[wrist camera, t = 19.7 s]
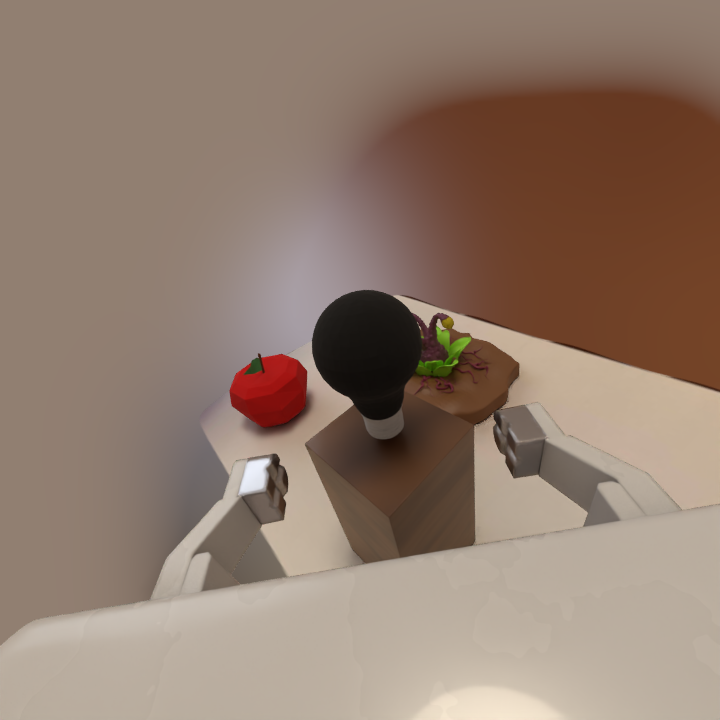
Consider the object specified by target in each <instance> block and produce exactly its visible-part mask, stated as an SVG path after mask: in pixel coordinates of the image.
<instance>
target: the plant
mask: <svg viewBox="0 0 720 720" xmlns="http://www.w3.org/2000/svg"><path fill="white" fill-rule="evenodd" d="M412 314H413V313H412ZM413 316H414V317H415V319H416V321H417V322H418V323H419V324H418V325H419V326H420V327H421V330H420V333H421V338H422V352H421V358H420V361H419V364H418V367H417V369H416V371H415V373H414V375H413V376H412V377H411V379H410V380H409V381H408V382H407V384H406V385H405V389H404V391H406V392H408V393H410V394H412V395H414V396H416V397H418V398H420V399H422V400H424V401H426V402H428V403H430V404H432V405H434V406H436V407H438V408H440V409H442V410H444V411H446V412H448V413H451V414H453V415H455V416H457V417H459V418H461V419H463V420H465V421H467V422H469V423H471V424H473V425H474V424H476V423H478V422H481V421H482V420H484V419H486V418H487V417H488V416H489V415H490V414H492V413H493V412H494V411H495V410H497V409H498V408H499V407H501V406H502V405H503V404H504V403H505V402H506V401H507V398H508V387H509V386H510V384H511V383H512V382H513V381H514V380H515V379H516V378H517V377H518V376H519V363H518V362H516V361H515V360H514V359H513V358H512V357H511V356H509V355H508V354H506V353H505V352H503V351H501V350H500V349H498V348H497V347H496V346H494V345H493V344H491V343H489V342H487V341H483V340H479V339H474V338H472V337H471V336H470V334H469V333H460V332H457V331H456V330H454V329H452V327H453V325H454V321H453V319H452V318H451V317H449V316H447V315H446V314H443V313H441V314H440V313H437V314H436V315H434V316H433V318H432V320H431V322H430V324H429V325H430V326H429V328H427V327H426V325H425V323H423V321H422V320H421V318H419V316H417V315H415V314H413ZM438 318H439V319H440V320H441V323H442V326H443V327H444V328H446V329H445V330H441V329H440V328H439V327H438V326H437V325H436V323H437V319H438Z"/></svg>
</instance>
